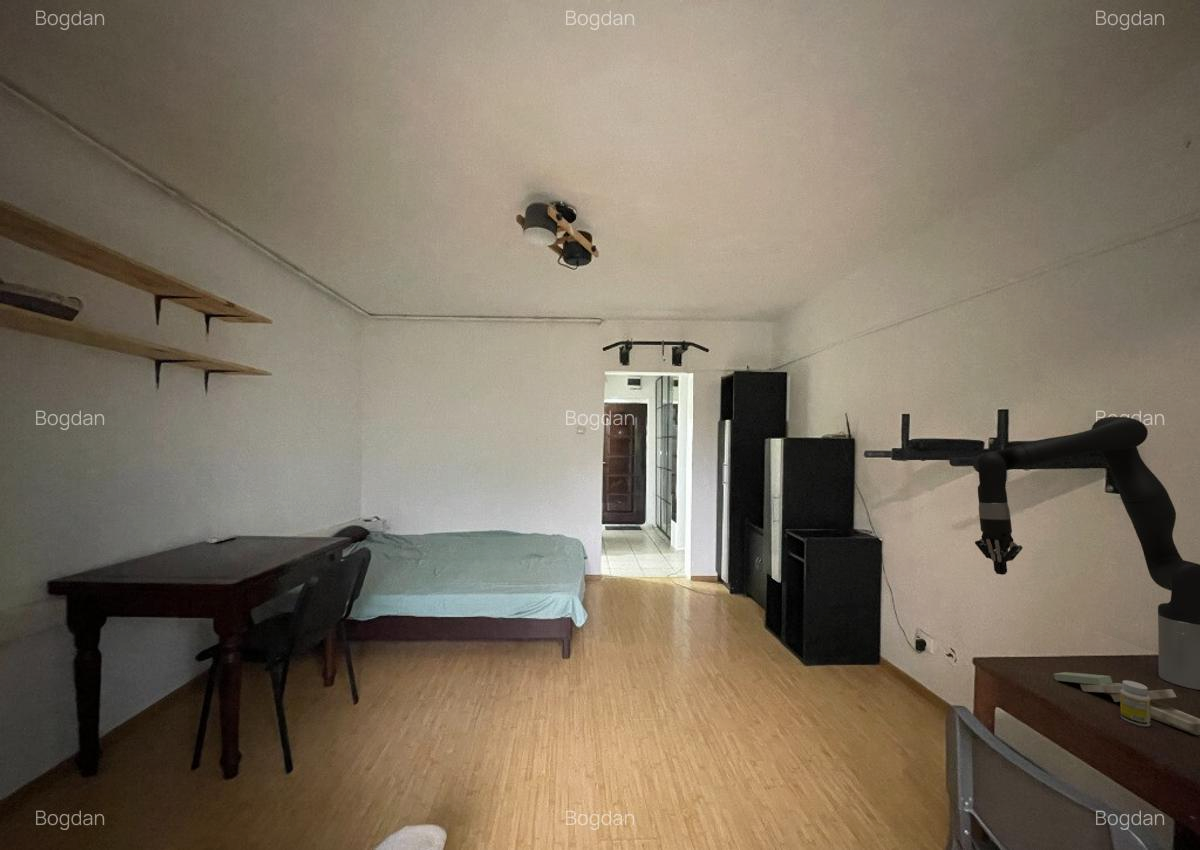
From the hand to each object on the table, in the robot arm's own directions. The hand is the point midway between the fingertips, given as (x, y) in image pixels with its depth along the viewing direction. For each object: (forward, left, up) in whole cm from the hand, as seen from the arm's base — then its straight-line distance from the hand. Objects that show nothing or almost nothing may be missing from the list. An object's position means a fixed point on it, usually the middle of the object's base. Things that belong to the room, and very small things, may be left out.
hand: (1000, 573), depth 149 cm
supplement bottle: (+11, +34, -25) cm, 43 cm away
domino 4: (+4, +32, -22) cm, 39 cm away
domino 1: (+2, +16, -24) cm, 28 cm away
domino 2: (+3, +21, -24) cm, 32 cm away
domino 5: (+3, +32, -24) cm, 40 cm away
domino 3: (+3, +27, -23) cm, 36 cm away
